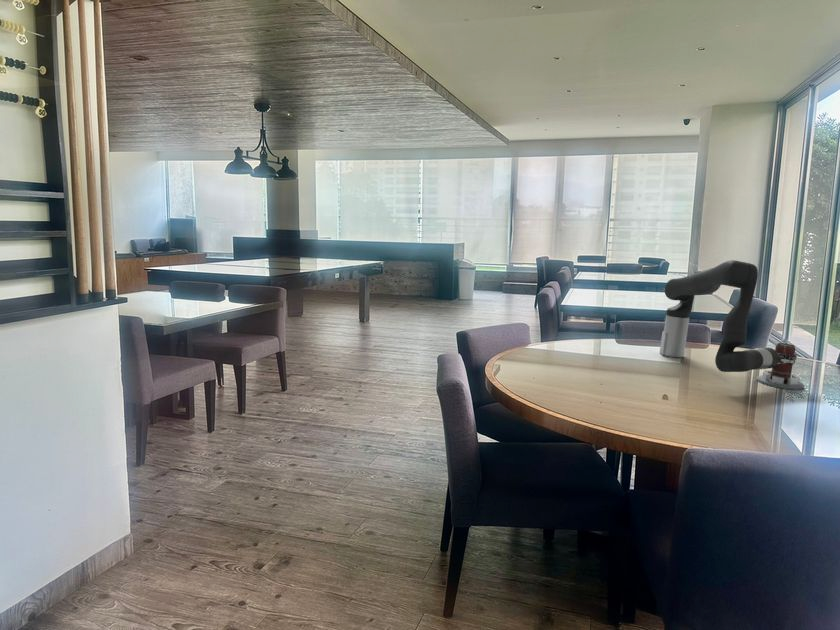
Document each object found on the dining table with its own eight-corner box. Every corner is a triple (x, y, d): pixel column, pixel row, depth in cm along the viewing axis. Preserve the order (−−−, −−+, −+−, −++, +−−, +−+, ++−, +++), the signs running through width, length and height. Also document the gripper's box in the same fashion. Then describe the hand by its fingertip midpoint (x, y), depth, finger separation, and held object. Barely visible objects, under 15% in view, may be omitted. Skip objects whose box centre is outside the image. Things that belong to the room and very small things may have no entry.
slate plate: (765, 386, 207) (765, 384, 207) (750, 376, 222) (751, 373, 222) (811, 391, 205) (811, 389, 204) (793, 380, 219) (793, 378, 219)
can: (770, 381, 211) (777, 344, 208) (769, 378, 216) (775, 341, 214) (790, 385, 208) (796, 347, 206) (788, 381, 214) (794, 344, 211)
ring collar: (769, 383, 209) (770, 376, 208) (758, 375, 220) (759, 369, 219) (803, 387, 206) (804, 380, 206) (790, 378, 217) (791, 372, 217)
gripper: (783, 353, 198) (811, 350, 206) (743, 343, 210) (771, 341, 218) (779, 374, 199) (807, 370, 207) (740, 363, 211) (768, 360, 220)
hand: (788, 355), depth 213 cm, fingers open, 3 cm apart
